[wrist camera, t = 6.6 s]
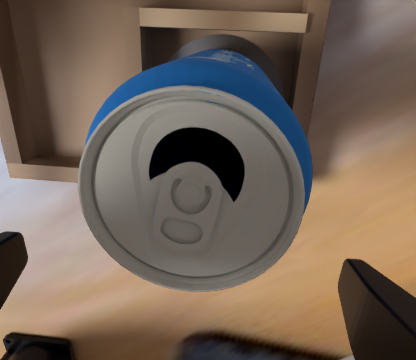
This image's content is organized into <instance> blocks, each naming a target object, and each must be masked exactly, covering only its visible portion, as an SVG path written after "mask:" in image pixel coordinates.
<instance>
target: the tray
mask: <svg viewBox="0 0 416 360" xmlns="http://www.w3.org/2000/svg"><path fill="white" fill-rule="evenodd" d="M330 3H331V0H0V138H1V142H2V146H3V150H4V154H5V159H6V163H7V167H8V171H9V175H10V178H23V179H36V180H49V181H62V182H75V183H78V173H79V166H80V161H81V158H82V154H83V151H84V148H85V142H86V138H87V135H88V132H89V129H90V126H91V124H92V122H93V120H94V118H95V116H96V114H97V112H98V111H99V109H100V108H101V106H102V105H103V103H104V102H105V100H106V99H107V98H108V97H109V96H110V95H111V94H112V93H113V92H114V91H115V90H116V89H117V88H118V87H119V86H121V85H122V84H123V83H125V82H126V81H127V80H128V79H130V78H132V77H134V76H135V75H137V74H139V73H141V72H143V71H145V70H148V69H150V68H153V67H156V66H158V65H161V64H164V63H167V62H170V61H173V60H176V59H179V58H182V57H185V56H188V55H191V54H194V53H197V52H200V51H204V50H209V49H227V50H232V51H235V52H238V53H241V54H243V55H245V56H247V57H248V58H250V59H251V60H253V61H254V62H255V63H256V64H257V65H258V66H259V67H260V68H261V69H262V70H263V71H264V73H265V74H266V75H267V77H268V78H269V80H270V81H271V82H272V84H273V85H274V86H275V88H276V89H277V91H278V92H279V93H280V95H281V96H282V97H283V99H284V100H285V102H286V103H287V104H288V106H289V107H290V108H291V110H292V111H293V113H294V114H295V116H296V118H297V119H298V121H299V123H300V124H301V126H302V128H303V131H304V133H305V136H306V138H307V135H308V129H309V123H310V118H311V112H312V106H313V100H314V95H315V89H316V83H317V78H318V72H319V66H320V60H321V55H322V49H323V43H324V37H325V32H326V26H327V20H328V14H329V9H330Z"/></svg>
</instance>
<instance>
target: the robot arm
mask: <svg viewBox="0 0 416 360" xmlns="http://www.w3.org/2000/svg"><path fill="white" fill-rule="evenodd" d="M27 261H28V254H27V250H26V246H25V242H24V238H23V235H22V234H21V233H19V232H8V231H7V232H2V233H0V309H1V307H2V306H3V304H4V303H5V301H6V299H7V297H8V296H9V294H10V292H11V290H12V289H13V287H14V285H15V283H16V282H17V280H18V278H19V277H20V275H21V273H22V271H23V270H24V268H25V266H26V264H27ZM338 292H339V297H340V301H341V306H342V311H343V315H344V320H345V324H346V329H347V333H348V338H349V342H350V346H351V349H352V352H353V356H354V358H355V360H416V298H415V297H414V296H412V295H411V294H409V293H408V292H407V291H405V290H404V289H402V288H401V287H400V286H398V285H397V284H395V283H394V282H393V281H391V280H390V279H388V278H387V277H385V276H384V275H383V274H381V273H380V272H378V271H377V270H376V269H374V268H373V267H371V266H370V265H369V264H367V263H366V262H364V261H363V260H360V259H346V260H345V261H344V263H343V266H342V270H341V274H340V278H339V282H338ZM3 342H4V345H5V348H6V353H5V354H4V355H3V357H2V358H1V359H0V360H75V359H74V354H73V349H72V345H71V343H70V342H69V341H66V340H57V339H48V338H39V337H30V336H21V335H13V334H7V335H6V336H5V338H4V339H3Z"/></svg>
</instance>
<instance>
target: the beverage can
mask: <svg viewBox="0 0 416 360" xmlns="http://www.w3.org/2000/svg"><path fill="white" fill-rule="evenodd" d="M312 173H313V169H312V158H311V153H310V148H309V144H308V141H307V138H306V136H305V133H304V131H303V128H302V126H301V124H300V123H299V121H298V119H297V118H296V116H295V114H294V113H293V111H292V110H291V108H290V107H289V106H288V104H287V103H286V102H285V100H284V99H283V97H282V96H281V95H280V93H279V92H278V91H277V89H276V88H275V86H274V85H273V84H272V82H271V81H270V80H269V78H268V77H267V75H266V74H265V73H264V71H263V70H262V69H261V68H260V67H259V66H258V65H257V64H256V63H255V62H254V61H253V60H251V59H250V58H248V57H247V56H245V55H243V54H241V53H238V52H235V51H232V50H227V49H209V50H204V51H200V52H197V53H194V54H191V55H188V56H185V57H182V58H179V59H176V60H173V61H170V62H167V63H164V64H161V65H158V66H156V67H153V68H150V69H148V70H145V71H143V72H141V73H139V74H137V75H135V76H134V77H132V78H130V79H128V80H127V81H126V82H125V83H123V84H122V85H121V86H119V87H118V88H117V89H116V90H115V91H114V92H113V93H112V94H111V95H110V96H109V97H108V98H107V99H106V100H105V102H104V103H103V105H102V106H101V108H100V109H99V111H98V112H97V114H96V116H95V118H94V120H93V122H92V124H91V126H90V129H89V132H88V135H87V138H86V142H85V148H84V151H83V154H82V158H81V161H80V166H79V173H78V191H79V199H80V204H81V207H82V211H83V214H84V217H85V219H86V222H87V224H88V226H89V228H90V230H91V231H92V233H93V235H94V237H95V238H96V239H97V241H98V242H99V243H100V245H101V246H102V247H103V249H104V250H105V251H106V252H107V253H108V254H109V255H110V256H111V257H112V258H113V259H114V260H115V261H117V262H118V263H119V264H120V265H121V266H123V267H124V268H126V269H127V270H129V271H130V272H131V273H133V274H135V275H137V276H139V277H140V278H142V279H144V280H147V281H149V282H151V283H154V284H157V285H160V286H163V287H166V288H171V289H175V290H181V291H190V292H208V291H217V290H222V289H227V288H231V287H234V286H237V285H240V284H243V283H245V282H248V281H250V280H252V279H254V278H256V277H257V276H259V275H261V274H262V273H264V272H265V271H266V270H268V269H269V268H270V267H271V266H273V265H274V264H275V263H276V262H277V261H278V260H279V259H280V258H281V257H282V256H283V255H284V253H285V252H286V251H287V249H288V248H289V247H290V245H291V244H292V242H293V240H294V238H295V236H296V234H297V232H298V229H299V226H300V224H301V221H302V216H303V214H304V212H305V210H306V207H307V204H308V201H309V197H310V192H311V187H312Z"/></svg>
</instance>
